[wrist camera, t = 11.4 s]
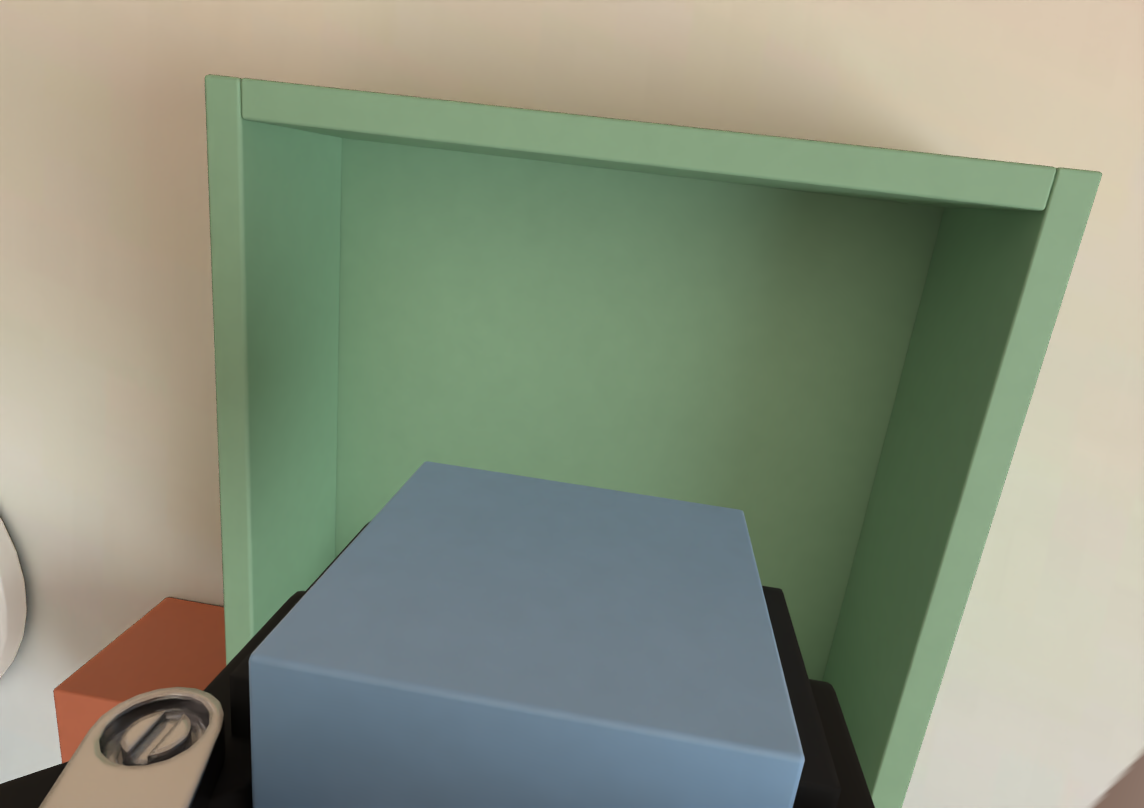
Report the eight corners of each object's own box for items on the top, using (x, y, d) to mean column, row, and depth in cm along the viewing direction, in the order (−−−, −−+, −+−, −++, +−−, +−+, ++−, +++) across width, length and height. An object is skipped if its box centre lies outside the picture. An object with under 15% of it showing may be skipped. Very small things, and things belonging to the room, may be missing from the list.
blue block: (410, 718, 13) (256, 1036, 8) (424, 459, 11) (244, 656, 6) (691, 771, 12) (707, 1140, 7) (744, 508, 11) (807, 758, 6)
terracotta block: (174, 711, 27) (68, 824, 22) (166, 596, 25) (51, 689, 20) (301, 735, 26) (221, 855, 21) (301, 619, 25) (216, 720, 20)
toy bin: (320, 617, 25) (227, 734, 19) (325, 106, 20) (202, 73, 14) (834, 705, 23) (886, 857, 18) (974, 179, 18) (1104, 172, 13)
